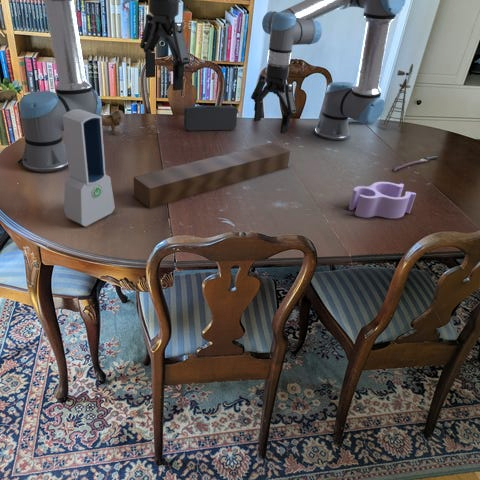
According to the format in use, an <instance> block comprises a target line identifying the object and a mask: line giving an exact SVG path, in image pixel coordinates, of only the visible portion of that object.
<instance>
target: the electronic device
mask: <svg viewBox="0 0 480 480" xmlns="http://www.w3.org/2000/svg"><path fill="white" fill-rule="evenodd" d="M102 117H103V116H99V115H96V114H93V113H90V112H87V111H84V110H80V109H74V110H71V111H69V112H67V113H65V114H64V115H63V125H64V131H63V133H64V141H65V147H66V150H67V159H68V167H67V168H68V174H69V176H68V177H67V179H66V181H64V194H63V195H64V196H63V197H64V198H63V212H64V215H65V217H66V218H67V219H69V220H70V221H73V222H75V223H77V224H78V225H81V226H83V227H88V226H90V225H91V224H93V223H95V222H97V221H99V220H101V219H103V218H105V217H107V216H109V215H111V214H112V213H113V212H114V210H115V209H116V206H115V200H114V199H115V198H114V194H113V193H114V191H113V186H112V179H111V176H109V175H108V174H106V160H105V146H104V132H103V131H104V130H103V125H102Z"/></svg>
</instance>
